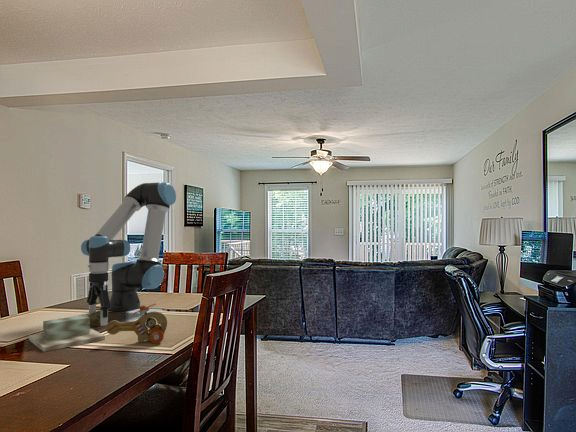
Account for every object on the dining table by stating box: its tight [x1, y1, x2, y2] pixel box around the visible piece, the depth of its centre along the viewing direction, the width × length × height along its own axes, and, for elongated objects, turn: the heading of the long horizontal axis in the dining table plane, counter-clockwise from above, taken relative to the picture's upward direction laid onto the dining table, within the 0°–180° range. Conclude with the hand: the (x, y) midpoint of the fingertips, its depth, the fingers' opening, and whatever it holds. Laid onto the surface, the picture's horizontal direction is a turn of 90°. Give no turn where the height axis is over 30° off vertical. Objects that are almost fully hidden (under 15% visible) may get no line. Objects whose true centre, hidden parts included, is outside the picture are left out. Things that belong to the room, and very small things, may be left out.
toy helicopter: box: [105, 303, 168, 345], centre depth 149 cm, size 8×21×14 cm, turn 103°
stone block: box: [87, 310, 101, 328], centre depth 175 cm, size 6×12×5 cm, turn 6°
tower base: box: [28, 314, 106, 353], centre depth 152 cm, size 20×20×8 cm
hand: (98, 322), depth 175 cm, fingers open, 13 cm apart
